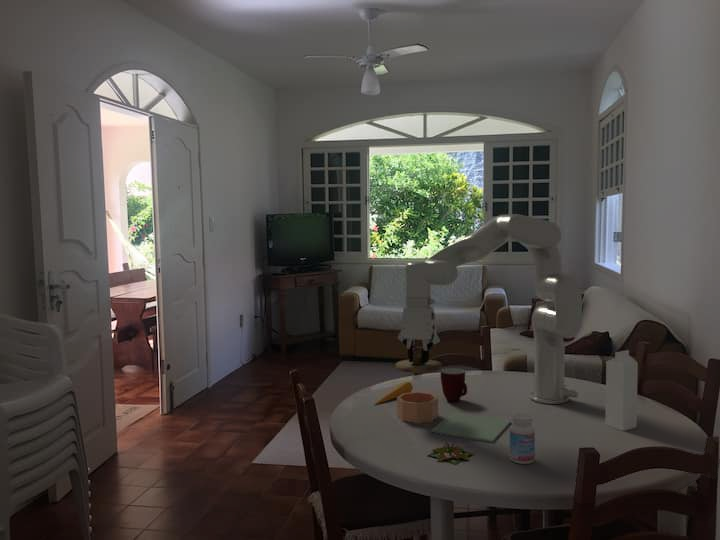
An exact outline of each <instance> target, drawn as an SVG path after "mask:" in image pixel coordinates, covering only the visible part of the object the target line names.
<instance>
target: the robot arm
mask: <svg viewBox="0 0 720 540" xmlns="http://www.w3.org/2000/svg"><path fill="white" fill-rule="evenodd" d="M561 238H562V231H561V229H560V227H559V225H557V224H556V223H555V222H554V221H550V220H546V219H541V218H537V217H533V216H530V215H529V216H527V215H523V214H518V213H513V214H512V213H511V214H510V213H509V214H508V213H505V214H499V215H497V216H495V217H493V218H492V219H491V220H489V221H488V222H487V223H485V224H484V225H482V226H481V227H479V228H478V229H477V230H474V231H473V232H472V233H470V234H469V235H467V236H466V237H464V238H461V239H460V240H458V241H456V242H454V243H451V244H449V245H447V246H445V247H444V248H442V249H440V250H438V251H437V252H435V253H434V254H433V255H431V256H430V257H428V258H427V259H426V260H425V261H410V262H407V263H406V264H405V267H404V269H405V271H404V272H405V274H404V275H405V276H404V277H405V306H403V310H402V315H401V325H400V326H401V330H400V332H399V334H398V336H397V339H398V340H399V341H401V342H402V344H403V345H404V346H405V348H406V349H407V357H408V359H409V362H413V347H415V346H414V345H415V341H421V342H422V347H423V351H422V363H423V364H425V363H427V362H428V360H430V350H431V348H432V347H434V345H436V344H438V343H439V342H440V341H441V339H440V337H439V336H438V333H437V320H436V313H435V309H434V307H433V306H432V305H435V303H436V302H435V301H436V299H432V297H431V285H432V286H443V287H444V286H450V285H452V284H453V283H455V281H457V278H458V274H459V271H458V269H457V267H459V266H461V265H466V264H470V263H475V262H478V261H480V260H484V259H485V258H487V257H488V256H489V255H491V254H492V253H494V252H495V251H496V250H498V249H499V248H500V247H502V246H504V244H506V243H508V242H513V243H514V242H515V243H516V242H517V243H519V244H520V245H522V247H525V248H526V249H527V250H528V251H529V253H530V254H531V256H532V259H533V266H534V269H533V270H534V289H535V290H534V291H535V295H536V296H537V297H538V299H539V300H542V301H545V302H549V303H554V304H553V305H552V304H543V305H542V304H541V305H539V306H538V307H536V308H535V309H534V310H533V313H532V315H531V326H532V331H533V339H534V366H533V367H534V371H533V373H534V381H533V382H534V383H533V384H534V385H533V387H534V389H533V391H531V392H529V398H530V399H531V400H532V401H534V402H537V403H541V404H548V405H556V404H557V405H560V404H565V403H567V402H569V400H570V397H571V398H575V399H577V398H578V397H579V392H578V391H576V390H575V389H568V388H567V384H565V353H566V352H565V351H566V348H565V341H564V339H572V338H575V337H576V336H577V335H578V334H579V333H580V331H581V329H582V326H583V325H582V324H583V305H582V303H583V299H582V288H581V285H580V283H579V281H578V280H577V278H575V277H574V276H572V275H571V274H566V273H563V270H562V260H561V259H562V258H561V254H560V251H559V248H558V246H557V245H558V244H560V241H561ZM432 339H433V340H432Z"/></svg>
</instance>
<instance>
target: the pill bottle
mask: <svg viewBox="0 0 720 540" xmlns="http://www.w3.org/2000/svg"><path fill="white" fill-rule="evenodd" d="M512 422H513V423H512V424H510V427H509V459H510V460H511V461H512V462H514V463H516V464H519V465H520V464H521V465H529V464H532V463H534V461H535V459H536V458H535V457H536V456H535V455H536V453H535V451H536V446H535V445H536V444H535V443H536V441H535V440H536V432H535V431H536V430H535V426H533V425H532V423H533V417H532V416H531V414H527V413H515V414H513V415H512Z"/></svg>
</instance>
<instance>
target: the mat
mask: <svg viewBox="0 0 720 540" xmlns="http://www.w3.org/2000/svg"><path fill="white" fill-rule="evenodd" d="M511 422H512V420H507V419H501V418H494V417H487V416H482V415H474V414H469V413H459V412H454V411H453V412H452V413H450V414H449V415H448V416H447V417H445V418H444V419H443V420H441V422H439V423H438V424H437V425H436V426H434V427H433V428H432V429H431V430H430V433H432V432H434V433H433V434H438V433H440V434H439V435H443V434H446V436H449V435H451V437H455V436H457V437H456V438H461V437H463V439H467V438H468V439H469V440H473V441H474V440H475V441H481V442H485V443H494V442H495V441H496V440H497V439H498V438H499V436H500V435H501V434H502V433H503V432H504V431H505V430H506V429H507V428H508V426H509V425H511Z"/></svg>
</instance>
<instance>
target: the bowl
mask: <svg viewBox="0 0 720 540" xmlns="http://www.w3.org/2000/svg"><path fill="white" fill-rule="evenodd" d="M396 403H397V404H396V414H397V415H396V416H397V418H399V419H400V420H401V421H402V422H405V421H407V422H408V423H411V422H413V424H424V423H423V422H425V423H431V421H432V422H433V420H434V419H435V420H436V419H438V418H439V397H438V396H436V395H435V394H433V393H431V392H430V393H428V392H424V391H423V392H421V391H411V392H410V393H403V394H402V395H400V396H398V397H397V398H396ZM437 417H438V418H437ZM435 420H434V421H435ZM407 422H406V423H407Z"/></svg>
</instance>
